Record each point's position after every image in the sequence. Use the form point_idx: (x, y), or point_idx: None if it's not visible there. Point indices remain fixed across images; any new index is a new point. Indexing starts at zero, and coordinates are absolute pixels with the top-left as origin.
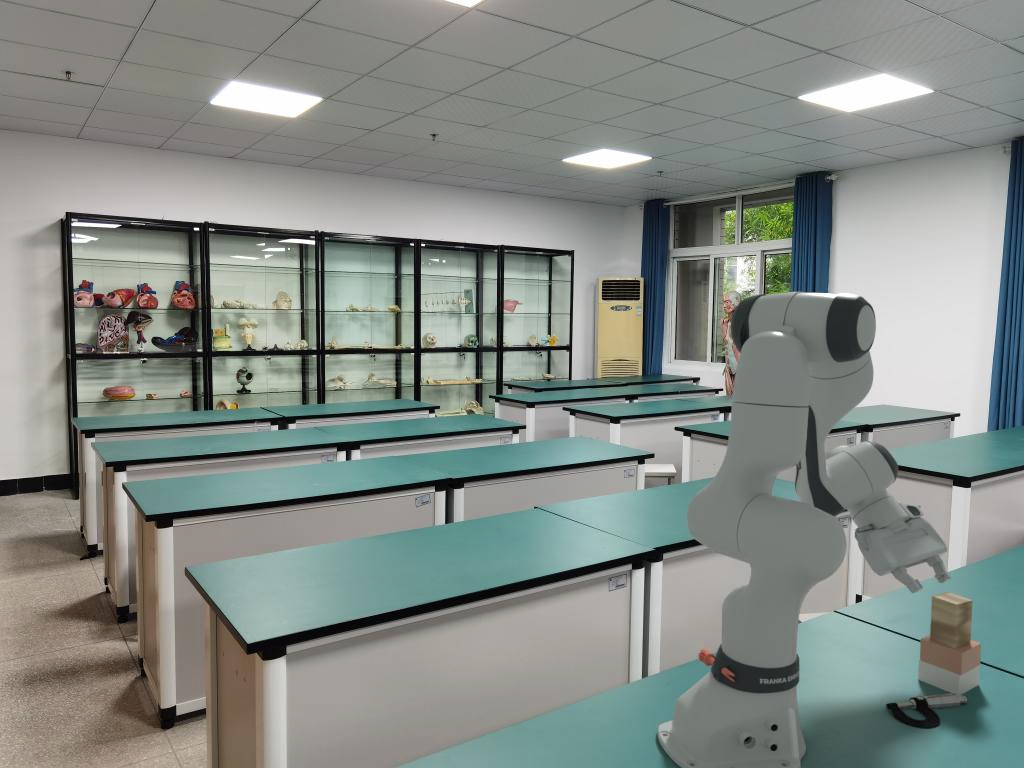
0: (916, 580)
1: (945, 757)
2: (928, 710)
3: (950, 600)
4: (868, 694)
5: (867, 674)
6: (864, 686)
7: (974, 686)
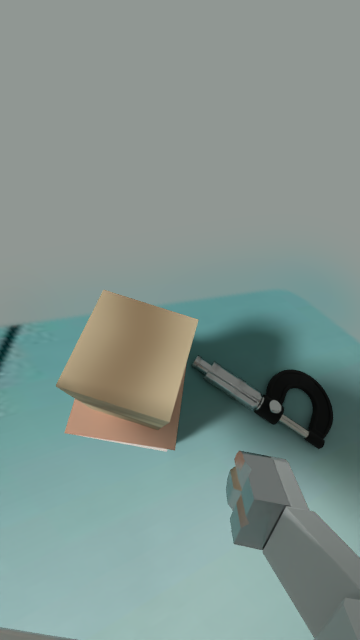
0: (270, 495)
1: (354, 342)
2: (274, 391)
3: (168, 347)
4: None
5: (219, 545)
6: None
7: None
